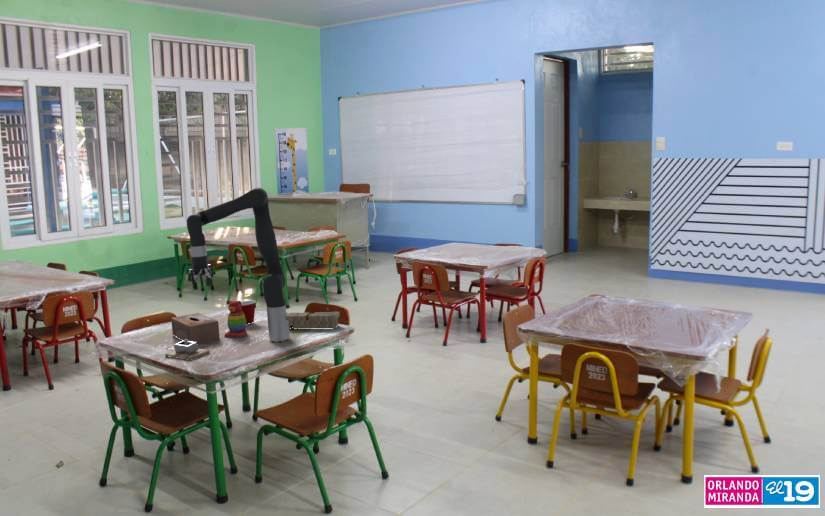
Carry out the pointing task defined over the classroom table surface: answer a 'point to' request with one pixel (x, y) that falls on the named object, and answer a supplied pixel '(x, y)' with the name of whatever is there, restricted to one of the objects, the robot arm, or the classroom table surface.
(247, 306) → the plastic cup
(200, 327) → the tissue box cover
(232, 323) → the stacking bear
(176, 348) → the grey storage bin
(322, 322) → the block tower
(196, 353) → the keeper board
